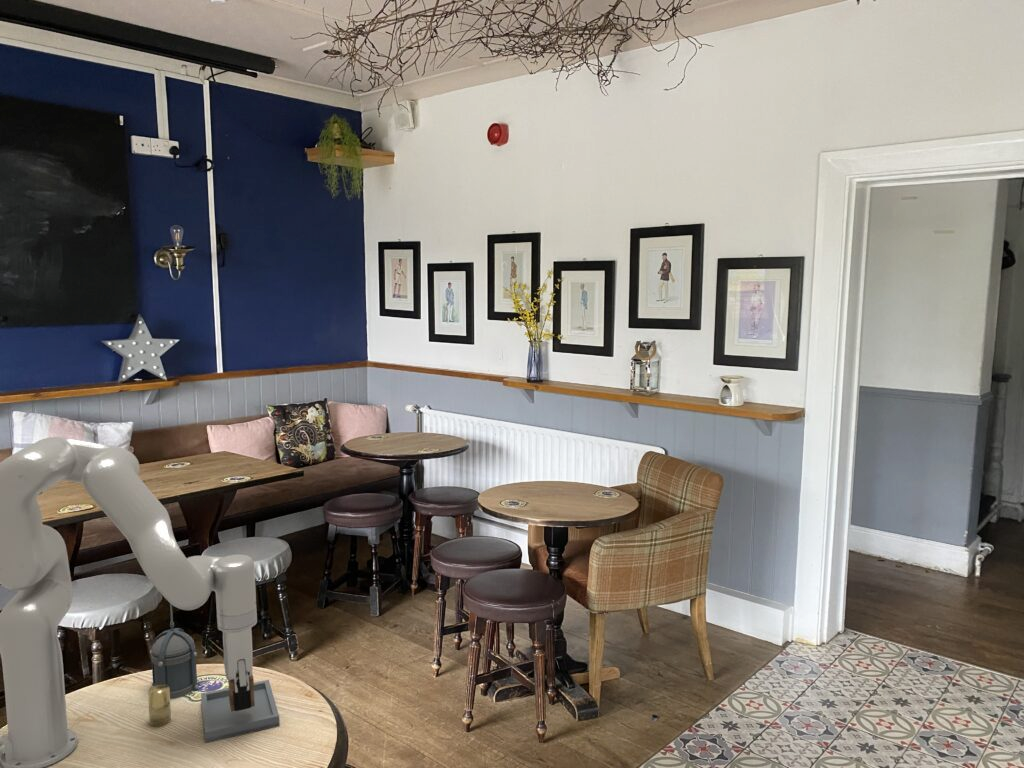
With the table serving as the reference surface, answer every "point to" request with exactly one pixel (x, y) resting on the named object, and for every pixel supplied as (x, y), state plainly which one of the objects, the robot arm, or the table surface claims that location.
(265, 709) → the tray
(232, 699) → the walnut block
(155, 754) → the table surface
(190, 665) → the lantern
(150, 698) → the brass cylinder
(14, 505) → the robot arm
